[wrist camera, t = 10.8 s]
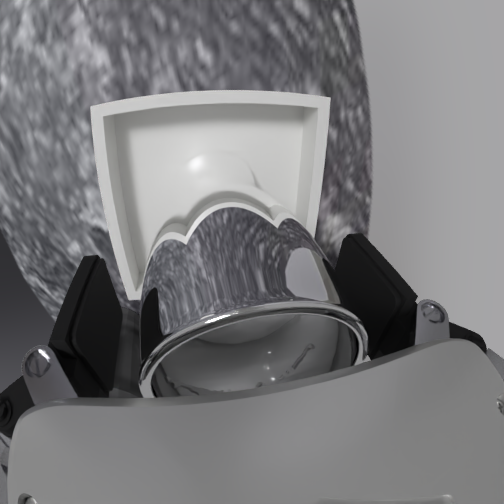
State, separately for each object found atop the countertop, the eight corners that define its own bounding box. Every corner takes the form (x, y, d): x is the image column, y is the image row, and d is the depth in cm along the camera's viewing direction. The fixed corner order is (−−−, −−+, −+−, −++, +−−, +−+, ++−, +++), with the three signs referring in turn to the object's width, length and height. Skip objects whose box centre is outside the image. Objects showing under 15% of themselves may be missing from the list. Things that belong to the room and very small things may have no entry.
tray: (105, 104, 14) (90, 106, 12) (311, 96, 17) (330, 97, 14) (133, 277, 22) (128, 300, 20) (294, 262, 25) (306, 283, 22)
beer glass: (228, 125, 17) (336, 229, 4) (277, 201, 20) (389, 369, 8) (146, 184, 18) (79, 380, 5) (203, 250, 21) (230, 441, 9)
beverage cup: (86, 331, 25) (63, 509, 8) (97, 285, 22) (58, 511, 5) (145, 351, 28) (150, 524, 11) (167, 311, 25) (179, 529, 9)
